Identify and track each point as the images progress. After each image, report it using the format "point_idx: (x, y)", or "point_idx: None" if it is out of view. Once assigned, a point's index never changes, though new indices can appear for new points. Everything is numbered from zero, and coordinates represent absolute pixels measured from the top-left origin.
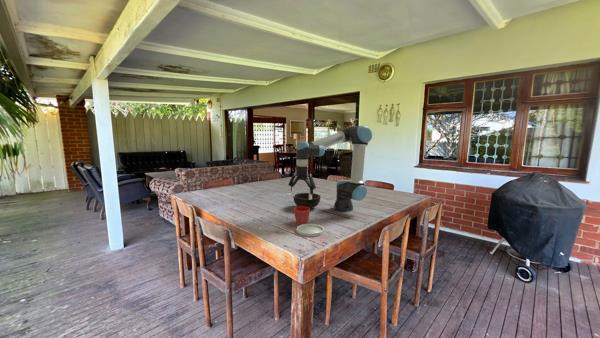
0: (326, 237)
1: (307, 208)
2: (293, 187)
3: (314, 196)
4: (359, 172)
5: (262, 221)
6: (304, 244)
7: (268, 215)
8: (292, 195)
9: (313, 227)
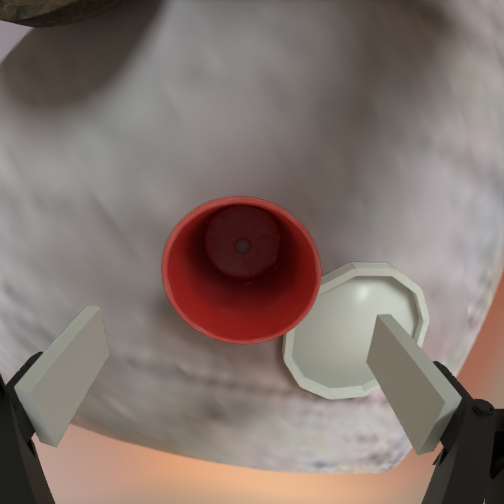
0: (438, 345)
1: (267, 209)
2: (50, 423)
3: None
4: None
5: None
6: (376, 431)
7: (6, 243)
8: (102, 364)
9: (357, 292)
